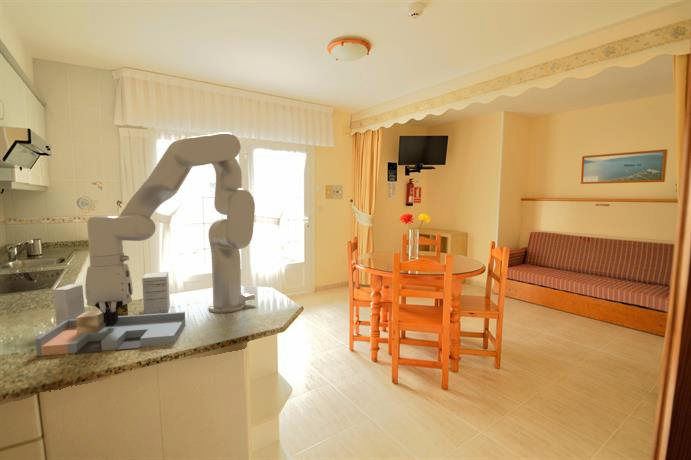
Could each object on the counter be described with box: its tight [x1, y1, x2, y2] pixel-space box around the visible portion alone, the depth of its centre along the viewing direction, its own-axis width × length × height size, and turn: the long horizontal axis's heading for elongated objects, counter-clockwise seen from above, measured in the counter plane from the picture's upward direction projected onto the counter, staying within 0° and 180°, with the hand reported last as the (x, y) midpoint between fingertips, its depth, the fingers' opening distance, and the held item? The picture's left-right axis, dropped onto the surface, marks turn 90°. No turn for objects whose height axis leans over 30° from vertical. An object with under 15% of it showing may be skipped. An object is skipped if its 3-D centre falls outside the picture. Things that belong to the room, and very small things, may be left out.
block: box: [76, 309, 106, 334], centre depth 92 cm, size 5×5×4 cm
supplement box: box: [141, 271, 171, 315], centre depth 114 cm, size 7×7×13 cm
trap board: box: [35, 311, 186, 357], centre depth 91 cm, size 31×14×4 cm, turn 104°
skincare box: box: [52, 283, 86, 326], centre depth 100 cm, size 6×4×12 cm
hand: (111, 324), depth 93 cm, fingers closed
